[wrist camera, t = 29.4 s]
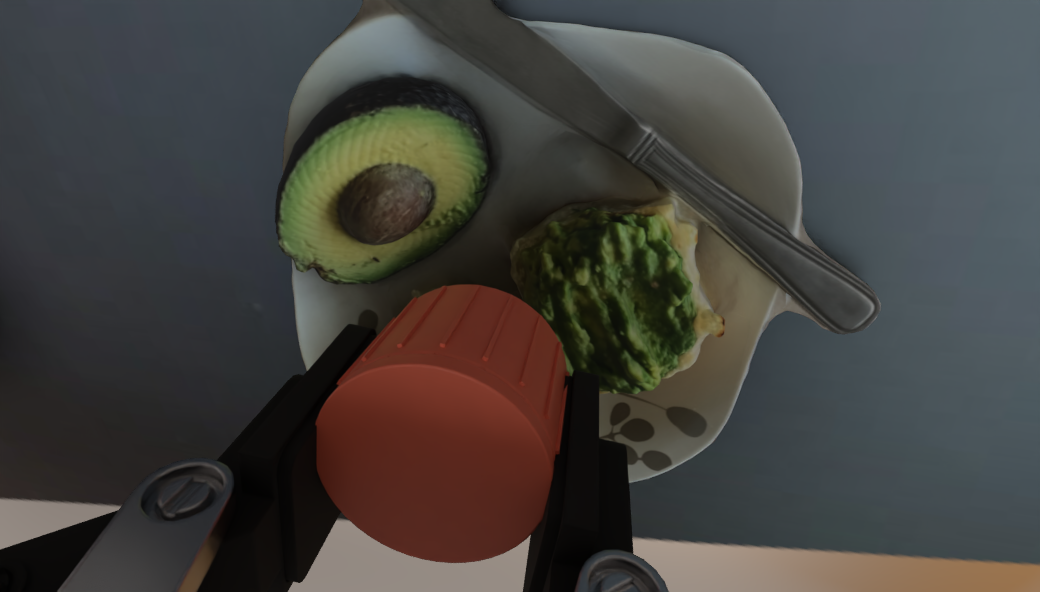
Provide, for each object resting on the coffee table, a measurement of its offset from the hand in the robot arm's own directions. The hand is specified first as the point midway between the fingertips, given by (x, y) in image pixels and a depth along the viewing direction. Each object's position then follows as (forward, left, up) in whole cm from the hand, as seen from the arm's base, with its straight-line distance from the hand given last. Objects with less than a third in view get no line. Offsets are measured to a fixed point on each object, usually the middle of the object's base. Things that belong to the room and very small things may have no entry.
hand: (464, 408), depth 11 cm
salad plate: (0, 0, -9) cm, 9 cm away
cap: (+1, 0, 0) cm, 1 cm away
